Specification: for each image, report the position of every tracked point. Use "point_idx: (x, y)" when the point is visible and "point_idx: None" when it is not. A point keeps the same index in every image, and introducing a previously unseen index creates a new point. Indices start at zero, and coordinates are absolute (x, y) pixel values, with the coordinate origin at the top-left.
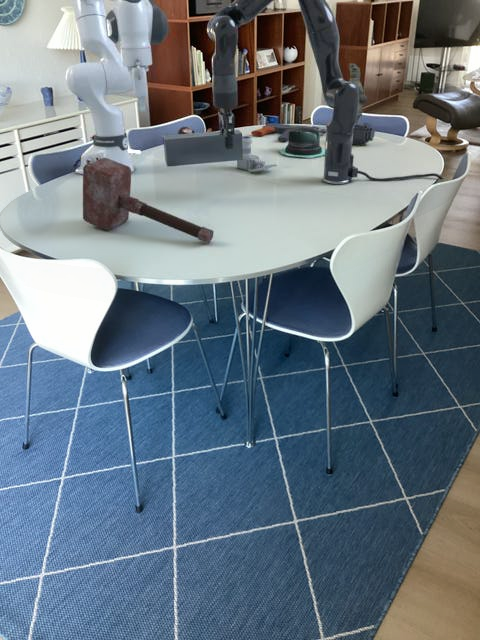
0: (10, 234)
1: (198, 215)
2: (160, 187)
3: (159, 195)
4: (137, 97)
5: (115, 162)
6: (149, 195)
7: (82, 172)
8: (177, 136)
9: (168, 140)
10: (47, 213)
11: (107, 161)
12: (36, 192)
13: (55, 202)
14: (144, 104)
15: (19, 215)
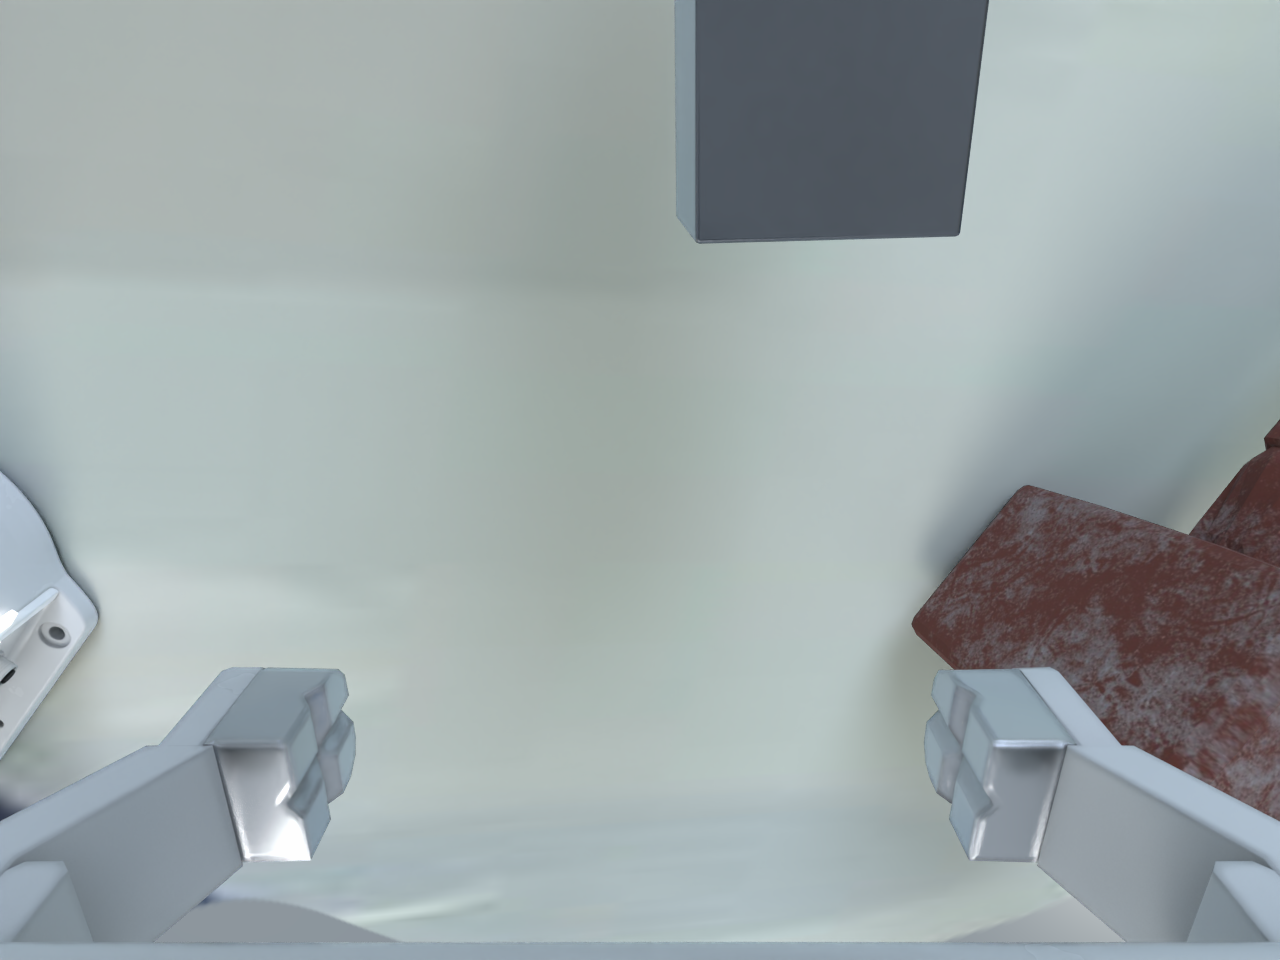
0: (953, 937)
1: (1086, 9)
2: (357, 244)
3: (552, 265)
4: (160, 909)
5: (1276, 733)
6: (537, 335)
7: (9, 740)
8: (843, 3)
9: (961, 176)
10: (722, 841)
11: (1260, 797)
12: (364, 910)
13: (555, 823)
14: (1148, 768)
15: (713, 935)
